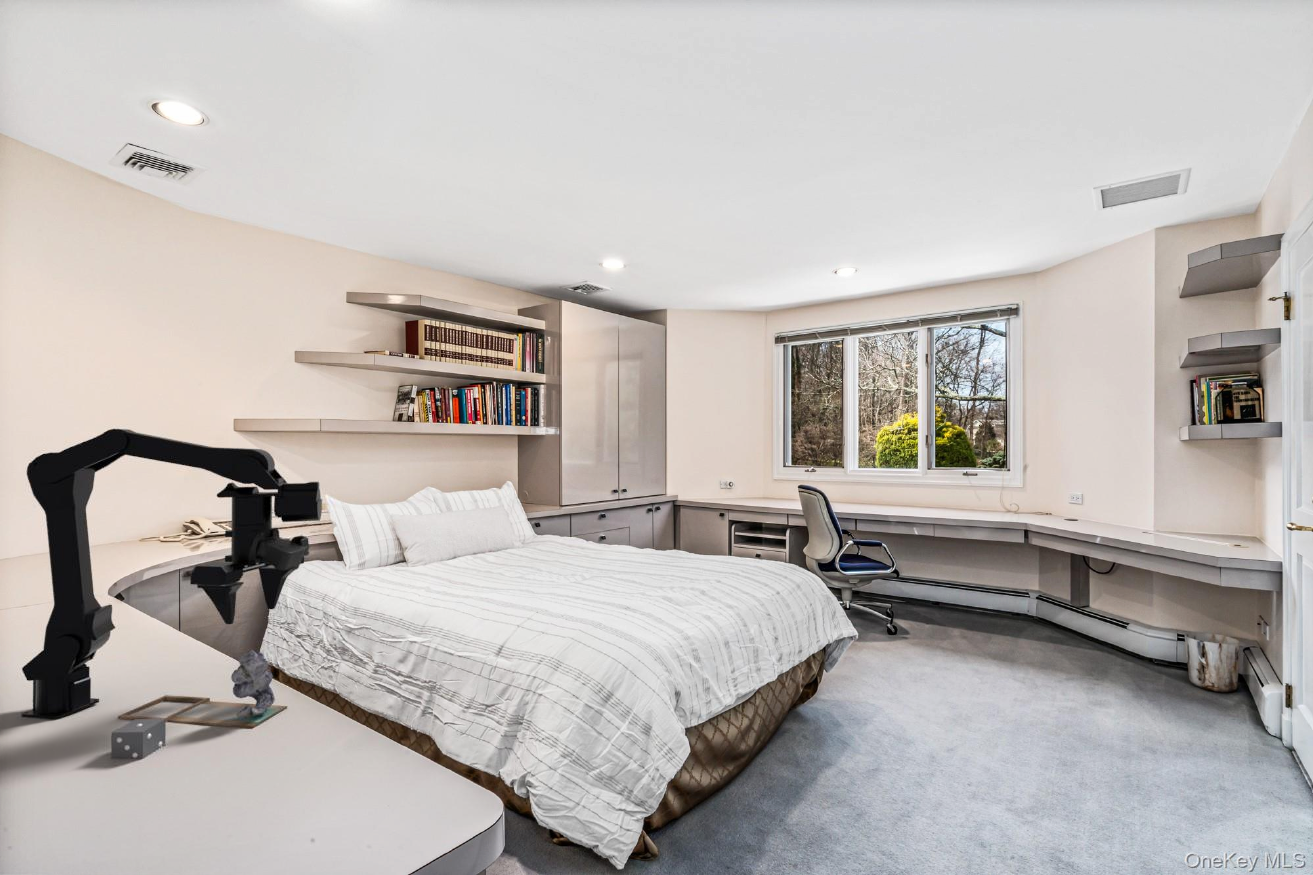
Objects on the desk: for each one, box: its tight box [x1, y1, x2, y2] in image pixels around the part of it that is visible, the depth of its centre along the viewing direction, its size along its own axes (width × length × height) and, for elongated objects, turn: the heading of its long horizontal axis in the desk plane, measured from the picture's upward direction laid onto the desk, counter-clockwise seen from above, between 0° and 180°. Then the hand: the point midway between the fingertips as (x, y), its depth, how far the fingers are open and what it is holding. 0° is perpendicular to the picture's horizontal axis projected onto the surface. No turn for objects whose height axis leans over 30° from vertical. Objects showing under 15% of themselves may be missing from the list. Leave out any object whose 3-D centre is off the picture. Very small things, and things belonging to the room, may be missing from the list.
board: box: [167, 700, 288, 729], centre depth 97 cm, size 15×7×1 cm, turn 82°
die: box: [110, 719, 167, 760], centre depth 85 cm, size 4×4×4 cm
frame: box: [117, 694, 211, 723], centre depth 98 cm, size 8×8×1 cm
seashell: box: [230, 649, 276, 718], centre depth 96 cm, size 5×5×10 cm
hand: (251, 616), depth 106 cm, fingers open, 9 cm apart
